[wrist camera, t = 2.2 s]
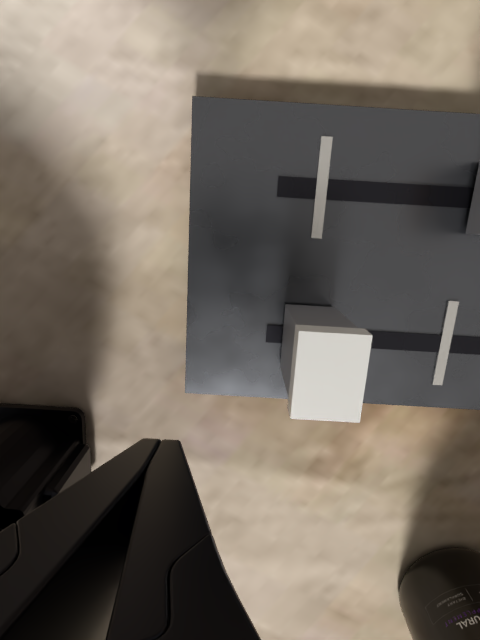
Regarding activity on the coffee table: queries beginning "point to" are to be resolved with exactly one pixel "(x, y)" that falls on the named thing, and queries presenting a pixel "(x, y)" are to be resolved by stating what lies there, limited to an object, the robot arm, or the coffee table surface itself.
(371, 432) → the coffee table surface
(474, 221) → the fader
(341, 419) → the fader
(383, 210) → the board
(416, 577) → the supplement bottle
